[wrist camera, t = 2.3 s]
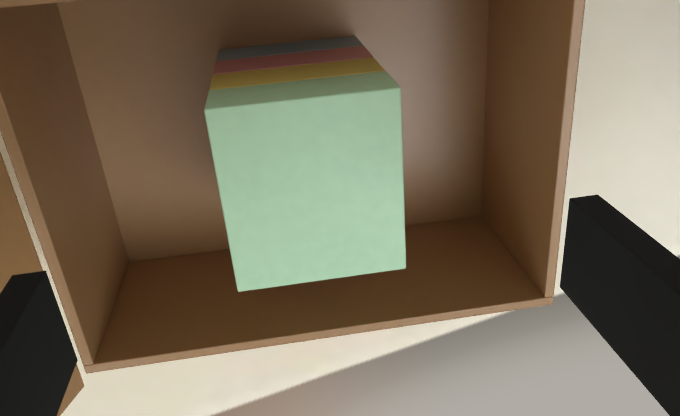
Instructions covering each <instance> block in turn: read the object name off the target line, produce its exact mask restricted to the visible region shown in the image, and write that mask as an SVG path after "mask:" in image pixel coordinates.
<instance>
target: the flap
mask: <svg viewBox="0 0 680 416" xmlns="http://www.w3.org/2000/svg"><path fill="white" fill-rule="evenodd" d="M39 271H43V269H42V267H41V264H40V261H39V258H38V256H37V253H36V250H35V247H34V244H33V242H32V239H31V236H30V233H29V231H28V228H27V225H26V222H25V219H24V217H23V214H22V211H21V208H20V205H19V203H18V200H17V197H16V194H15V192H14V189H13V186H12V183H11V180H10V178H9V175H8V172H7V169H6V167H5V164H4V161H3V158H2V155H1V153H0V293H1V292H2V290H3V289H4V287H5V285H6V284H7V282H8V281H9V279H10V278H11V276H12V275H17V274H24V273H32V272H39ZM83 387H84V384H83V381H82V378H81V375H80V372H79V370H78V367H77V364H76V366H75V368H74V371H73V374H72V376H71V379H70V382H69V384H68V387H67V390H66V392H65V395H64V398H63V400H62V403H61V406H60V408H59V411H58V414H57V416H60V415H61V414H62V413H63V411H64V410H65V409H66V408H67V407H68V405H69V404H70V403H71V402H72V400H73V399H74V398H75V397H76V395H77V394H78V393H79V392H80V391H81V389H82V388H83Z"/></svg>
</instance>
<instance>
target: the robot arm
mask: <svg viewBox="0 0 680 416" xmlns="http://www.w3.org/2000/svg"><path fill="white" fill-rule="evenodd" d="M560 288H561V289H562V290H563V291H564V292H565V293H566V295H567V296H568V297H569V298H570V299H571V300H572V302H573V303H574V304H575V305H576V306H577V307H578V309H579V310H580V311H581V312H582V313H583V315H584V316H585V317H586V318H587V319H588V320H589V321H590V323H591V324H592V325H593V326H594V327H595V329H597V331H598V332H599V333H600V334H601V336H602V337H603V338H604V339H605V340H606V341H607V342H608V344H609V345H610V346H611V347H612V348H613V350H614V351H615V352H616V353H617V354H618V355H619V357H620V358H621V359H622V360H623V361H624V362H625V364H626V365H627V366H628V367H629V368H630V370H631V371H632V372H633V373H634V374H635V375H636V377H638V379H639V380H640V381H641V382H642V384H643V385H644V386H645V387H646V388H647V389H648V391H649V392H650V393H651V394H652V395H653V396H654V397H655V399H656V400H657V401H658V402H659V404H660V405H661V406H662V407H663V408H664V409H665V411H666V412H667V413H668V414H669V415H670V416H680V259H679V258H678V257H676V256H675V255H674V254H672V253H671V252H670V251H669V250H667V249H666V248H665V247H664V246H662V245H661V244H660V243H658V242H657V241H656V240H655V239H653V238H652V237H651V236H650V235H648V234H647V233H646V232H644V231H643V230H642V229H641V228H639V227H638V226H637V225H636V224H634V223H633V222H632V221H630V220H629V219H628V218H627V217H625V216H624V215H623V214H622V213H620V212H619V211H618V210H616V209H615V208H614V207H613V206H611V205H610V204H609V203H608V202H606V201H605V200H604V199H602V198H601V197H600V196H599V195H592V196H585V197H578V198H570V201H569V210H568V219H567V228H566V237H565V246H564V255H563V264H562V273H561V282H560ZM76 363H77V357H76V354H75V352H74V349H73V346H72V343H71V340H70V338H69V335H68V332H67V329H66V326H65V324H64V321H63V318H62V315H61V312H60V310H59V307H58V304H57V301H56V298H55V296H54V293H53V290H52V287H51V284H50V281H49V279H48V276H47V273H46V271H39V272H32V273H24V274H17V275H12V276H11V278H10V279H9V281H8V282H7V284H6V285H5V287H4V289H3V290H2V292H1V293H0V416H57V414H58V411H59V408H60V406H61V403H62V400H63V398H64V395H65V392H66V390H67V387H68V384H69V382H70V379H71V376H72V374H73V371H74V368H75V366H76Z"/></svg>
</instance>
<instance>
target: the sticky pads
mask: <svg viewBox="0 0 680 416" xmlns="http://www.w3.org/2000/svg"><path fill="white" fill-rule="evenodd" d="M204 114H205V119H206V124H207V130H208V135H209V141H210V146H211V151H212V157H213V162H214V167H215V173H216V178H217V184H218V189H219V194H220V200H221V205H222V210H223V216H224V221H225V227H226V232H227V237H228V243H229V248H230V253H231V259H232V264H233V269H234V275H235V280H236V286H237V290H238V292H241V291H248V290H255V289H263V288H270V287H277V286H284V285H291V284H298V283H305V282H313V281H320V280H327V279H334V278H341V277H348V276H356V275H363V274H370V273H377V272H384V271H391V270H399V269H405V268H406V244H405V210H404V175H403V141H402V107H401V88H400V86H399V85H398V84H397V83H396V82H395V81H394V79H393V78H392V77H391V76H390V75H389V74H388V73H387V71H385V70H384V69H383V67H382V66H381V65H380V64H379V63H378V62H377V60H376V59H375V58H374V57H373V55H372V54H371V53H370V52H369V51H368V50H367V49H366V47H365V46H364V45H363V44H362V43H361V42H360V40H359V39H358V38H357V37H356V36H346V37H337V38H327V39H318V40H308V41H298V42H289V43H279V44H269V45H260V46H250V47H241V48H231V49H221V50H218V53H217V58H216V62H215V66H214V71H213V75H212V80H211V85H210V89H209V92H208V96H207V100H206V104H205V109H204Z"/></svg>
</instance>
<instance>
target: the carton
mask: <svg viewBox="0 0 680 416" xmlns="http://www.w3.org/2000/svg"><path fill="white" fill-rule="evenodd" d="M584 7H585V0H0V131H1V134H2V136H3V139H4V142H5V145H6V148H7V151H8V153H9V156H10V159H11V162H12V165H13V167H14V170H15V173H16V176H17V179H18V182H19V184H20V187H21V190H22V193H23V196H24V199H25V201H26V204H27V207H28V210H29V213H30V216H31V218H32V221H33V224H34V227H35V230H36V233H37V235H38V238H39V241H40V244H41V247H42V250H43V252H44V255H45V258H46V261H47V264H48V267H49V269H50V272H51V275H52V278H53V281H54V284H55V286H56V289H57V292H58V295H59V298H60V301H61V303H62V306H63V309H64V312H65V315H66V318H67V320H68V323H69V326H70V329H71V332H72V335H73V337H74V340H75V343H76V346H77V349H78V352H79V354H80V357H81V360H82V363H83V365H84V369H85V371H86V373H92V372H99V371H106V370H112V369H119V368H126V367H133V366H139V365H146V364H153V363H159V362H166V361H173V360H180V359H186V358H193V357H200V356H207V355H213V354H220V353H227V352H234V351H240V350H247V349H254V348H261V347H267V346H274V345H281V344H288V343H294V342H301V341H308V340H315V339H321V338H328V337H335V336H342V335H348V334H355V333H362V332H369V331H375V330H382V329H389V328H396V327H402V326H409V325H416V324H423V323H429V322H436V321H443V320H450V319H456V318H463V317H470V316H477V315H483V314H490V313H497V312H504V311H510V310H517V309H524V308H530V307H537V306H544V305H550V304H553V296H554V287H555V278H556V268H557V259H558V250H559V240H560V231H561V222H562V212H563V203H564V194H565V184H566V175H567V166H568V156H569V147H570V138H571V128H572V119H573V110H574V100H575V91H576V82H577V72H578V63H579V54H580V44H581V35H582V26H583V16H584ZM346 36H356V37H357V38H358V39H359V40H360V42H361V43H362V44H363V45H364V46H365V47H366V49H367V50H368V51H369V52H370V53H371V54H372V55H373V57H374V58H375V59H376V60H377V62H378V63H379V64H380V65H381V66H382V67H383V69H384V70H385V71H387V73H388V74H389V75H390V76H391V77H392V78H393V79H394V81H395V82H396V83H397V84H398V85H399V86H400V88H401V107H402V141H403V175H404V210H405V244H406V268H405V269H399V270H391V271H384V272H377V273H370V274H363V275H356V276H348V277H341V278H334V279H327V280H320V281H313V282H305V283H298V284H291V285H284V286H277V287H270V288H263V289H255V290H248V291H241V292H238V290H237V286H236V280H235V275H234V269H233V264H232V259H231V253H230V248H229V243H228V237H227V232H226V227H225V221H224V216H223V210H222V205H221V200H220V194H219V189H218V184H217V178H216V173H215V167H214V162H213V157H212V151H211V146H210V141H209V135H208V130H207V124H206V119H205V114H204V109H205V104H206V100H207V96H208V92H209V89H210V85H211V80H212V75H213V71H214V66H215V62H216V58H217V53H218V50H221V49H231V48H241V47H250V46H260V45H269V44H279V43H289V42H298V41H308V40H318V39H327V38H337V37H346Z"/></svg>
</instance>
